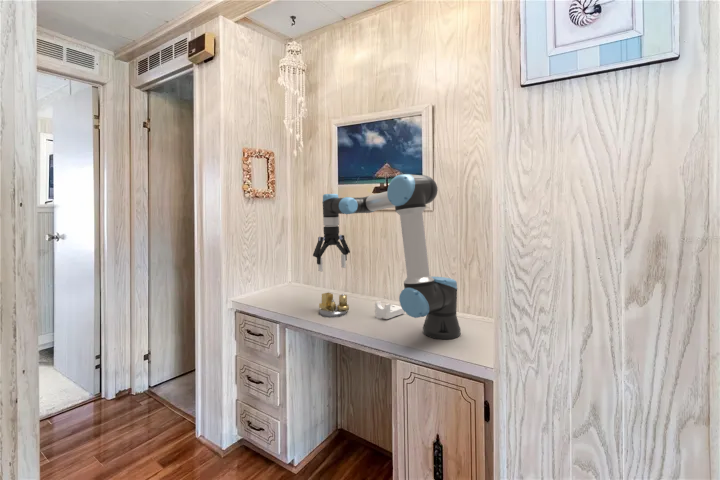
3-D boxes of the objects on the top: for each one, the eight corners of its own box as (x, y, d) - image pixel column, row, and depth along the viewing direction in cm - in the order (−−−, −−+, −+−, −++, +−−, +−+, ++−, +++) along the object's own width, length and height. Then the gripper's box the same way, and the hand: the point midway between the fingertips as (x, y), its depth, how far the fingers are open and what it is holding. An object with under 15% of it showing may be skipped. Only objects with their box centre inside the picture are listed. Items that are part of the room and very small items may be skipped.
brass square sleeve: (335, 307, 184) (335, 294, 183) (325, 310, 180) (325, 296, 179) (329, 305, 188) (329, 291, 188) (319, 307, 185) (318, 293, 184)
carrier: (352, 313, 180) (352, 294, 179) (329, 319, 171) (328, 299, 170) (337, 307, 190) (337, 289, 189) (314, 312, 182) (314, 294, 181)
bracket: (386, 321, 169) (386, 305, 168) (375, 317, 174) (375, 302, 173) (404, 314, 178) (404, 299, 177) (393, 311, 183) (393, 296, 182)
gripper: (347, 224, 190) (348, 265, 192) (304, 227, 175) (306, 271, 177) (356, 224, 184) (357, 267, 186) (313, 227, 169) (314, 273, 171)
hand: (332, 269), depth 182 cm, fingers open, 13 cm apart
